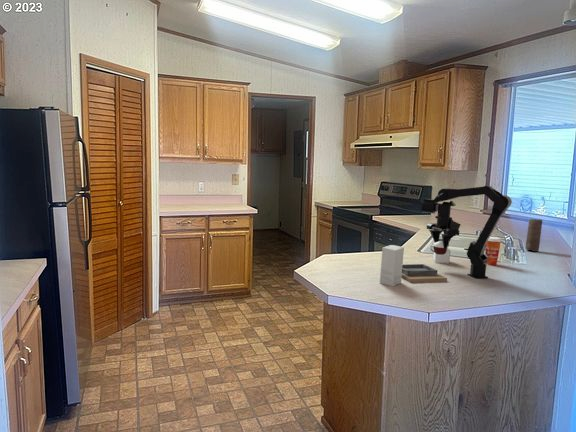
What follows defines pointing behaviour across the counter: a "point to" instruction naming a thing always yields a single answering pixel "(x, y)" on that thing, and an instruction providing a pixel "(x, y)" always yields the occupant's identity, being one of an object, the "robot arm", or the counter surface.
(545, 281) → the counter surface
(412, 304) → the counter surface
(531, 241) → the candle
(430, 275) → the tray stand
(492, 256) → the paper cup
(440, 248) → the cocoa
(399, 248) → the skincare box
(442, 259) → the medicine bottle
